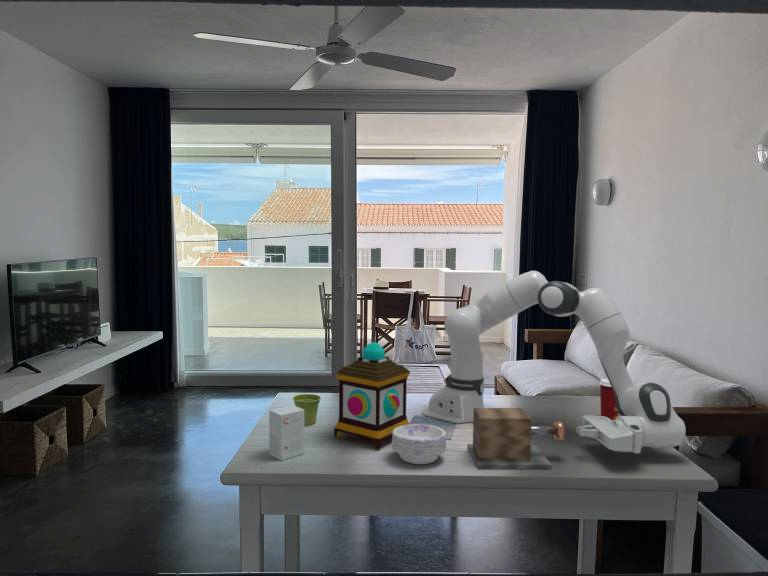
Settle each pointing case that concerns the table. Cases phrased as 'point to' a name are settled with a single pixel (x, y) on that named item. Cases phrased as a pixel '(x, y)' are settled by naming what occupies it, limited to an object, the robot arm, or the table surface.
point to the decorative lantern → (372, 396)
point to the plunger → (550, 430)
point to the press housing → (504, 440)
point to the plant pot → (308, 406)
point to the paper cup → (608, 400)
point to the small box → (286, 432)
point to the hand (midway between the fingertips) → (578, 431)
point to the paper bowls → (419, 443)
